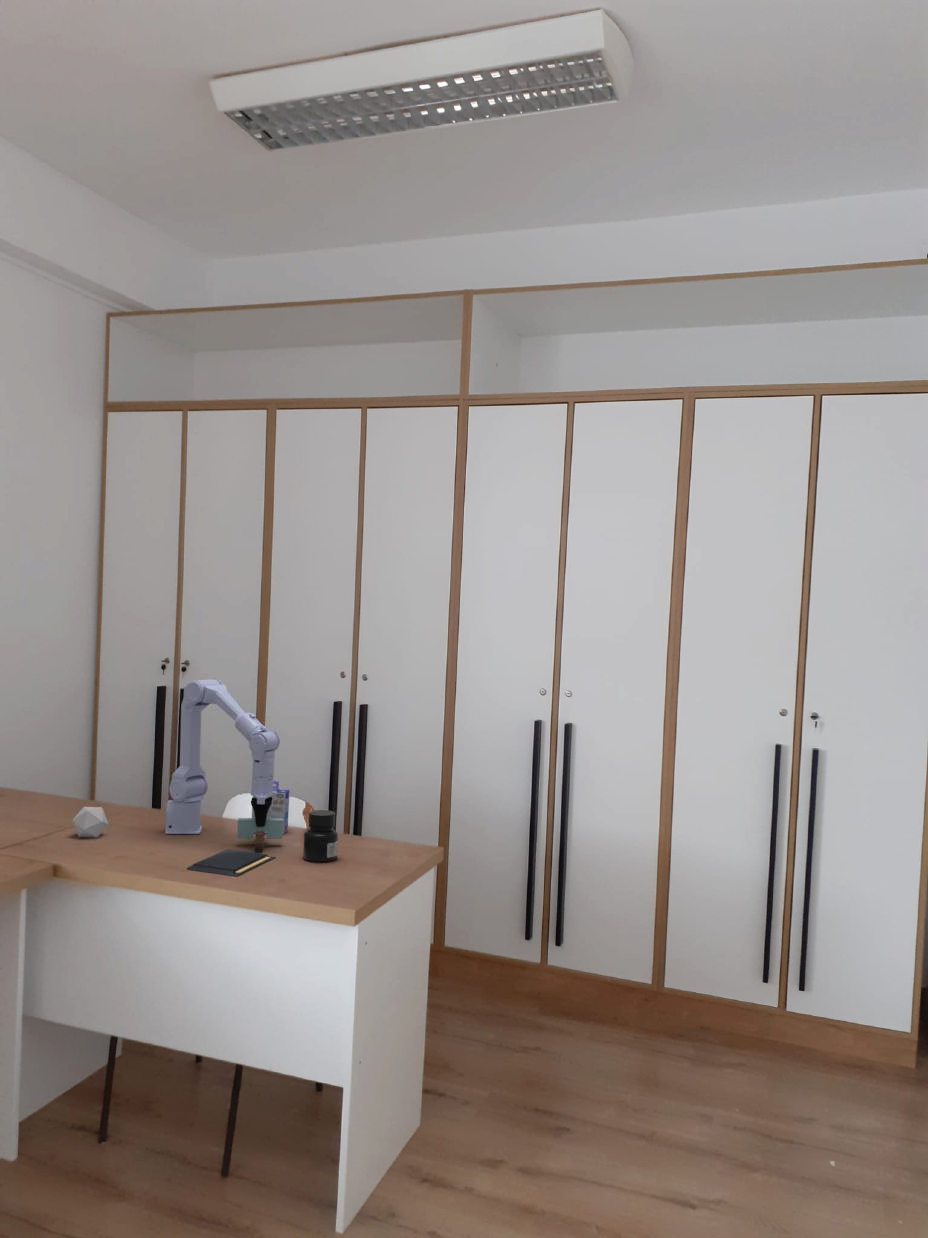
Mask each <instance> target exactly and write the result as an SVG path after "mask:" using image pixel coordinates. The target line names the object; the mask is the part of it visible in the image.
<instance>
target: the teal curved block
mask: <svg viewBox="0 0 928 1238" xmlns="http://www.w3.org/2000/svg"><path fill="white" fill-rule="evenodd" d="M254 831H267V833H266V834H265V835H266V837H265V838H266V839H268V840H270V839H272V840H274V839H275V840H278V839H279V840H282V839H283V835H284V834H283V818H266V823H265V826H264V827H257V826H256V822H255V818H252V817H248V818H247V817H238V818H237V833H236V839H237V840H238V839H239V840H241V839H242V840H243V839H246V840H248V839H250V840H252V839H254V836H255V833H254Z"/></svg>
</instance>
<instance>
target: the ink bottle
mask: <svg viewBox="0 0 928 1238" xmlns="http://www.w3.org/2000/svg"><path fill="white" fill-rule="evenodd" d="M335 824H336V812H335V811H333V810H327V809H325V810H324V809H318V810H317V809H316V810H311V811H309V812H308V829H307V830H306V831H305V832H304V835H303V850H302V851H303V852H302V853H303V854H302V857H303V858H304V860H306V861H309V862H314V863H324V862H332V861H335V860H336V859H337V858H338V846H339V844H338V843H339V834H338V831H336V830H335V829H334V828H335Z"/></svg>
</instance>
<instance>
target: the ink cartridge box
mask: <svg viewBox="0 0 928 1238" xmlns="http://www.w3.org/2000/svg"><path fill="white" fill-rule="evenodd" d="M274 785H275V786H274ZM279 785H280V781H275V780H273V791H277V795H272V796H270V797H272V801H271V802H272V804H271V806H270V808H269V810H268V813H267V818H283V834H282V835H284V834H285V833H287V832H288V829H289V811H290V809H289V807H290V789H285V788H283V789H282V788H279V787H280V786H279ZM252 798H254V797H253V796H252ZM251 818H255V814H254V810H253V807H252V806H251ZM254 834H256V831H254ZM265 834H267V831H265Z"/></svg>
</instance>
